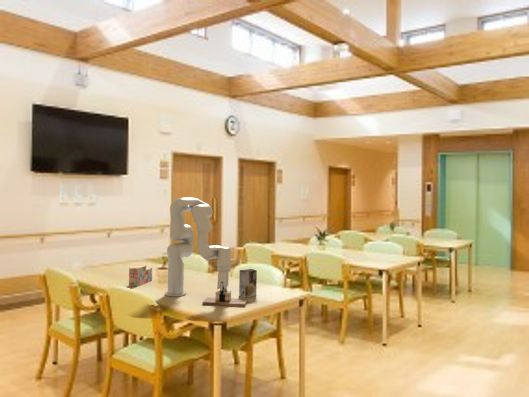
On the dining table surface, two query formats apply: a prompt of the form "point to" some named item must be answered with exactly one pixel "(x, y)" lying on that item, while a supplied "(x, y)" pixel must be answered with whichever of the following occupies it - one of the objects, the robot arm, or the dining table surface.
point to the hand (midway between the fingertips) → (223, 299)
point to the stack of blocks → (139, 275)
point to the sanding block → (227, 295)
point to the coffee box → (247, 283)
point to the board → (226, 302)
